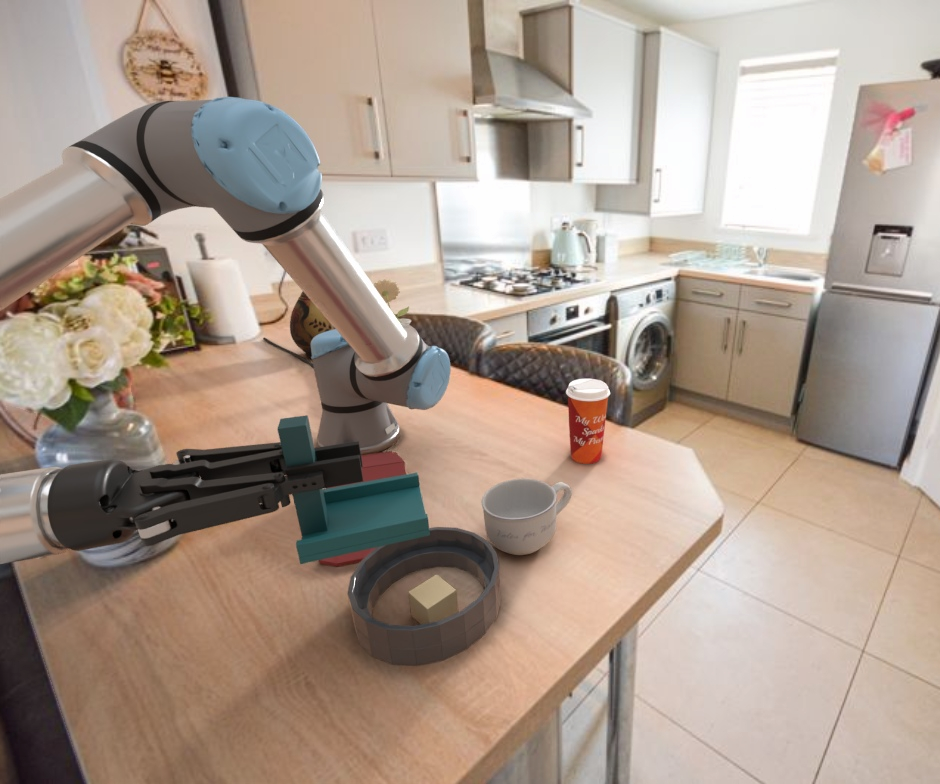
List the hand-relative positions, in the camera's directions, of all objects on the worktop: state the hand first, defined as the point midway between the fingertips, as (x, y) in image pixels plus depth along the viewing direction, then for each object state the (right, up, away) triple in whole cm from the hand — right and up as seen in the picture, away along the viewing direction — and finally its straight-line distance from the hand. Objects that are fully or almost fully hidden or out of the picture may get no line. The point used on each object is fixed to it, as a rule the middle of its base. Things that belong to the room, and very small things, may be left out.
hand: (360, 460), depth 53 cm
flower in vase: (-27, +14, +90) cm, 95 cm away
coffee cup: (+24, -5, +47) cm, 53 cm away
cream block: (+6, -18, +10) cm, 21 cm away
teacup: (+15, -15, +24) cm, 32 cm away
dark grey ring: (+4, -20, +11) cm, 23 cm away
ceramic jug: (-55, +19, +101) cm, 116 cm away
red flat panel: (-11, -12, +29) cm, 33 cm away
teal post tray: (-1, -7, +3) cm, 8 cm away
